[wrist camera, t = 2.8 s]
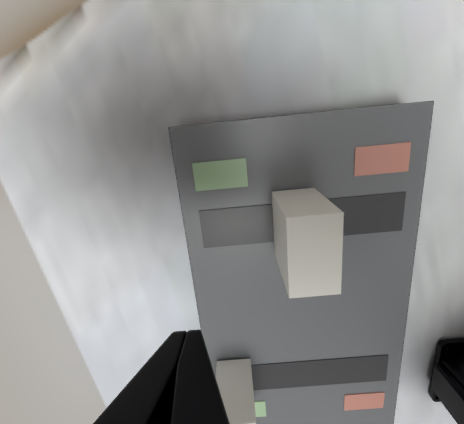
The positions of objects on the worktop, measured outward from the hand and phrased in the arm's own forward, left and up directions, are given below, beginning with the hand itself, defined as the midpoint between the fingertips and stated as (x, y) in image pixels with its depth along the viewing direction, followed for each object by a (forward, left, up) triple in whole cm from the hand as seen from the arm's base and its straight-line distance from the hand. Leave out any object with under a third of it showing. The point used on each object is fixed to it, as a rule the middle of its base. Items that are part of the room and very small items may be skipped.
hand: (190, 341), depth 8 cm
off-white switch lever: (-5, 0, -9) cm, 10 cm away
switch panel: (-5, +6, -12) cm, 14 cm away
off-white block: (0, +12, -9) cm, 15 cm away
